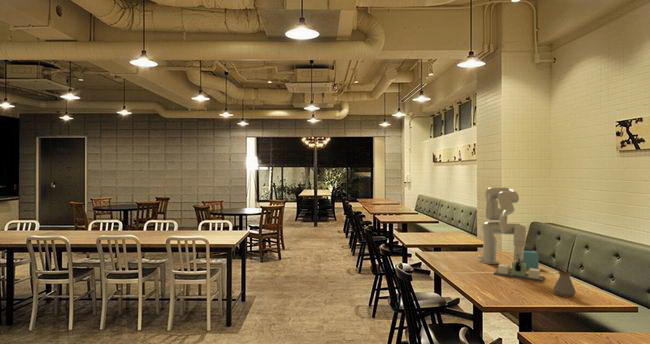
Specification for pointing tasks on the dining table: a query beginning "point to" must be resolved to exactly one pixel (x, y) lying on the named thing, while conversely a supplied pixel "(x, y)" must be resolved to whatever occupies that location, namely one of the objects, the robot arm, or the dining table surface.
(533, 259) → the data package
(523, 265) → the module block
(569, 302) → the dining table surface
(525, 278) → the rail plate
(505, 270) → the mounted modules
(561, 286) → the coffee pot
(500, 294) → the dining table surface
